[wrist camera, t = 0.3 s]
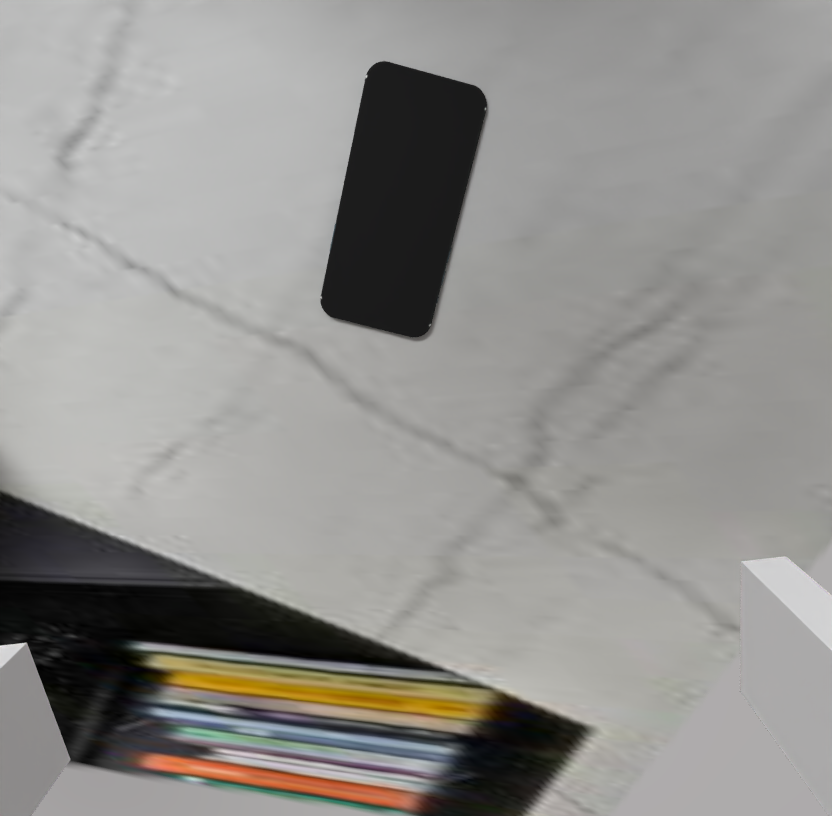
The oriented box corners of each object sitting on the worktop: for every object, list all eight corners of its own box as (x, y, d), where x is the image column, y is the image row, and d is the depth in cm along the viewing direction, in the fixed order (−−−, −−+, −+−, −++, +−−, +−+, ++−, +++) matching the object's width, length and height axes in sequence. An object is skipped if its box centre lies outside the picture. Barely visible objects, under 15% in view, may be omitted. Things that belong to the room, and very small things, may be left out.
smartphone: (492, 90, 33) (427, 341, 37) (491, 93, 34) (427, 339, 37) (368, 56, 33) (316, 313, 36) (369, 60, 33) (318, 312, 37)
